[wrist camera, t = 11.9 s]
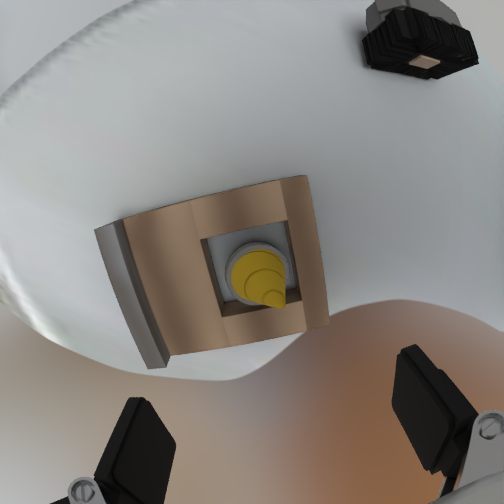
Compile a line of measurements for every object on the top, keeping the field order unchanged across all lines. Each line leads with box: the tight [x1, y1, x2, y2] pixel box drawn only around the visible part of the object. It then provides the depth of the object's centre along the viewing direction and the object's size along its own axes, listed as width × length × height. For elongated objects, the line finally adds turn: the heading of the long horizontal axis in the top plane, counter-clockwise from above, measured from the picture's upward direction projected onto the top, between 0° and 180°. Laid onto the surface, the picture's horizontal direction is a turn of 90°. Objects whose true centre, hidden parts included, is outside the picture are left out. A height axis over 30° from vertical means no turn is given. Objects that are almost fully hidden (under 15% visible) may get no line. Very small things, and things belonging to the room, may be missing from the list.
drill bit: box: [225, 242, 289, 310], centre depth 22 cm, size 5×5×10 cm
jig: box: [94, 175, 330, 369], centre depth 24 cm, size 18×14×5 cm
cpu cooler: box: [362, 0, 479, 80], centre depth 16 cm, size 10×6×10 cm, turn 95°
